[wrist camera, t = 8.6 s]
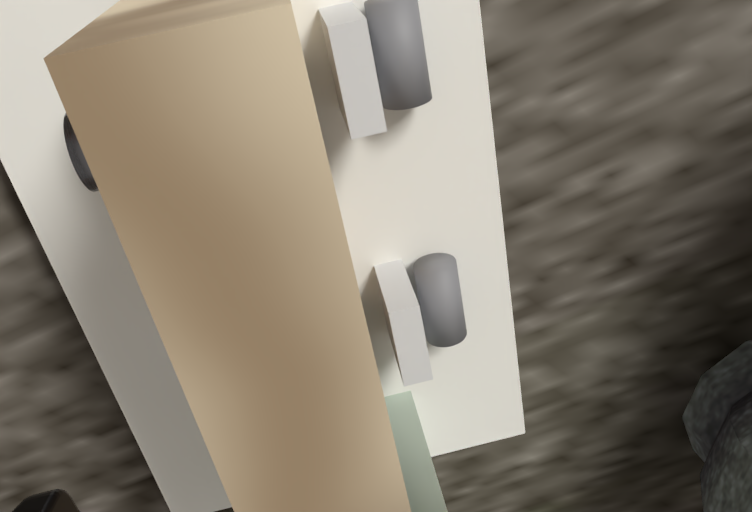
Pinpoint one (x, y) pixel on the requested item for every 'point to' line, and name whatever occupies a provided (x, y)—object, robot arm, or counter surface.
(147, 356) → the hinge base
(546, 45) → the counter surface
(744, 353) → the mortar and pestle
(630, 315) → the counter surface
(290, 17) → the door panel
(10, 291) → the counter surface
